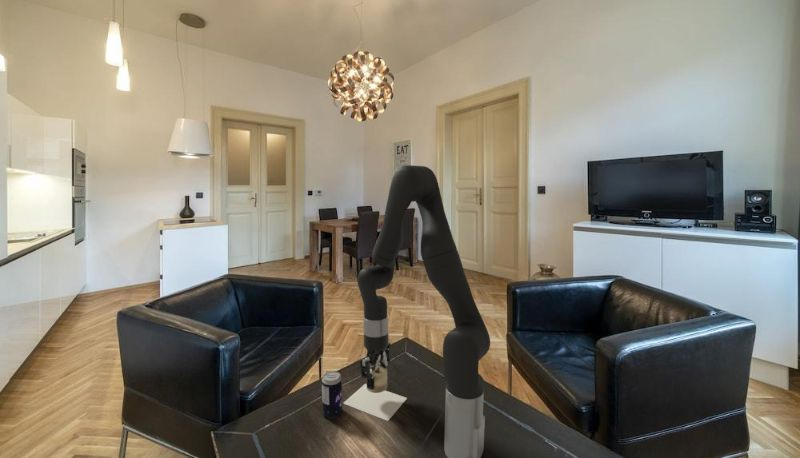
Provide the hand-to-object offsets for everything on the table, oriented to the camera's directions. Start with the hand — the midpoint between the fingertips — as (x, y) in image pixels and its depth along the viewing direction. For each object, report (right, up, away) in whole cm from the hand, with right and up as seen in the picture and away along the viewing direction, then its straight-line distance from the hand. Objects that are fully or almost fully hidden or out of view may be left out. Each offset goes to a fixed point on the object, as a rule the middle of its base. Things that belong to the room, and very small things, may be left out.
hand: (377, 382), depth 103 cm
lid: (0, -1, 0) cm, 1 cm away
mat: (-1, -6, +1) cm, 6 cm away
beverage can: (-13, -7, -5) cm, 15 cm away
